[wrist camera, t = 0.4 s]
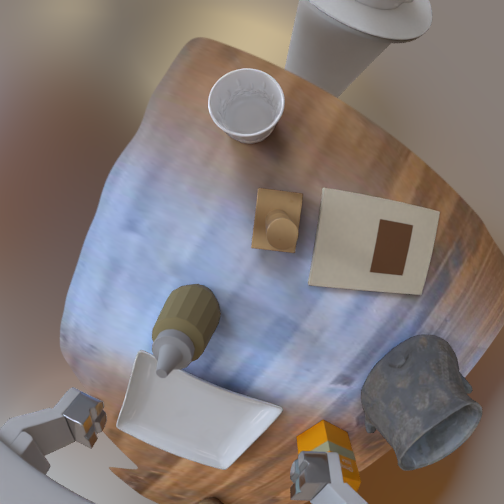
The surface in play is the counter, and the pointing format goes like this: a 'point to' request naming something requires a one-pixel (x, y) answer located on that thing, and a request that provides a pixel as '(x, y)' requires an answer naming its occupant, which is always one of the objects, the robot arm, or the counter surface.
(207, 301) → the squeeze bottle
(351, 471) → the orange juice
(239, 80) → the white cup
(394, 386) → the vessel
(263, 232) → the scrub brush
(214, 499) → the natural sponge
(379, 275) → the cream rectangular board
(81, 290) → the counter surface
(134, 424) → the square plate
